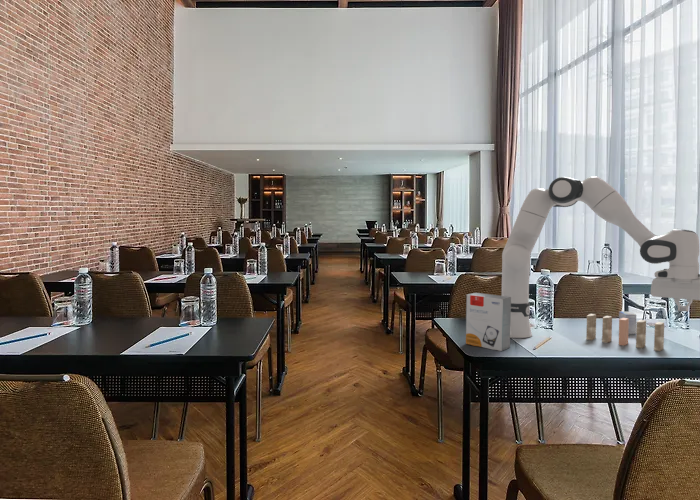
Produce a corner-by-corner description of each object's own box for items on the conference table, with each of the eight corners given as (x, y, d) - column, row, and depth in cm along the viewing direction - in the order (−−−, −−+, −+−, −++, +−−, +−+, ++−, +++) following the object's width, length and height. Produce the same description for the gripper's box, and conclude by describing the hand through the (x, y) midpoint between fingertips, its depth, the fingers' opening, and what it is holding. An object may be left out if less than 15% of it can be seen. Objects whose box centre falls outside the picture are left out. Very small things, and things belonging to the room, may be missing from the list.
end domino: (654, 350, 176) (654, 323, 176) (657, 347, 180) (658, 321, 179) (660, 351, 175) (661, 324, 175) (663, 348, 179) (664, 322, 178)
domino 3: (618, 344, 185) (619, 319, 184) (622, 342, 188) (623, 317, 188) (624, 345, 184) (624, 320, 183) (628, 343, 187) (628, 318, 187)
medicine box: (636, 334, 202) (637, 314, 202) (625, 334, 203) (625, 314, 203) (629, 330, 210) (629, 311, 209) (618, 330, 211) (619, 311, 210)
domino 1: (586, 339, 194) (586, 315, 193) (590, 337, 197) (591, 313, 197) (591, 340, 192) (592, 316, 192) (595, 338, 196) (596, 314, 195)
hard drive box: (464, 344, 186) (465, 294, 185) (474, 341, 191) (475, 292, 190) (501, 351, 175) (502, 298, 174) (510, 347, 180) (511, 296, 180)
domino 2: (602, 341, 189) (602, 317, 189) (606, 339, 193) (606, 315, 192) (607, 342, 188) (608, 318, 187) (611, 340, 191) (612, 316, 191)
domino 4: (635, 347, 181) (636, 321, 180) (639, 345, 184) (640, 319, 184) (641, 348, 179) (642, 322, 179) (645, 345, 183) (646, 320, 182)
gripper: (721, 274, 166) (720, 313, 167) (653, 271, 181) (653, 307, 181) (718, 275, 162) (717, 315, 162) (649, 272, 176) (649, 309, 177)
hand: (683, 311), depth 172 cm, fingers closed
